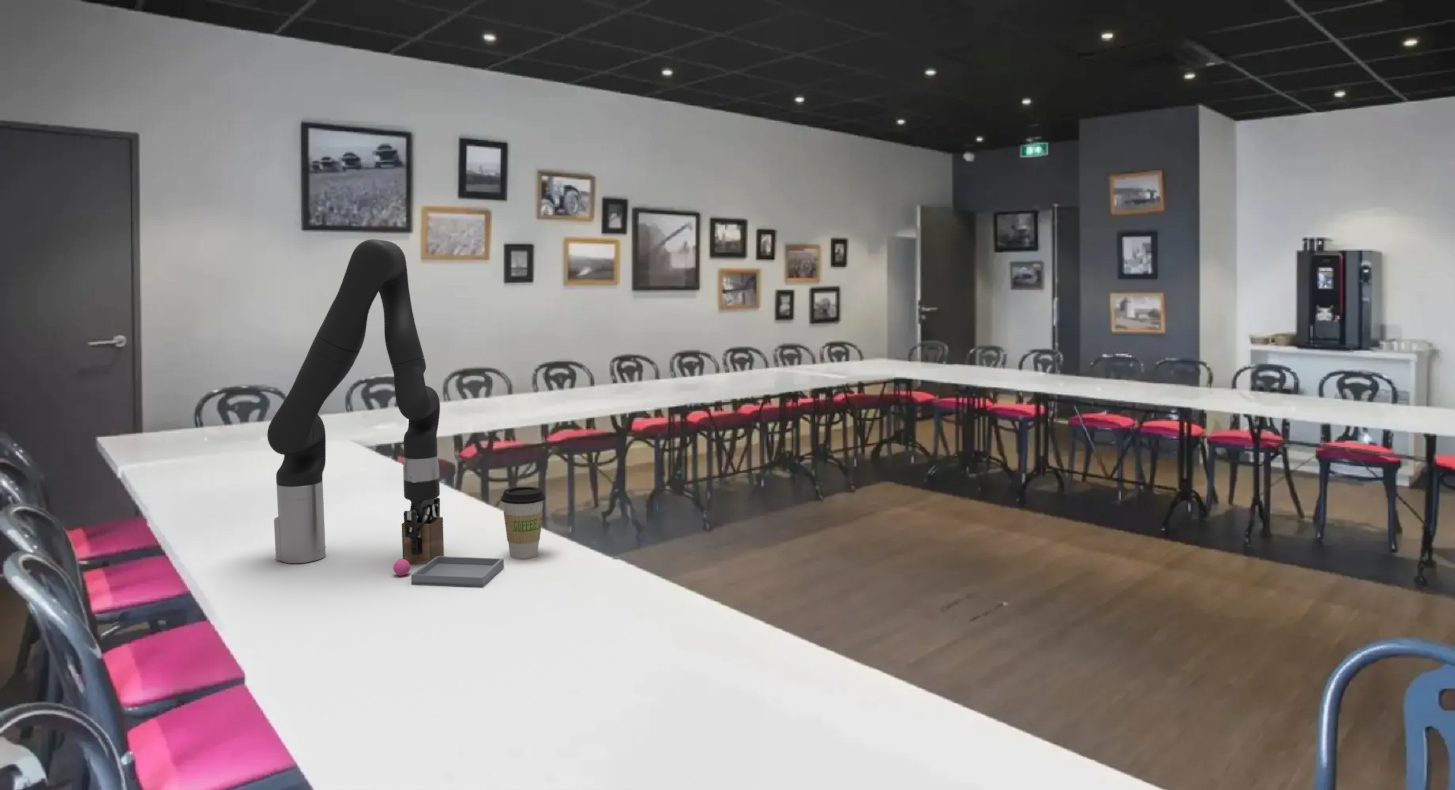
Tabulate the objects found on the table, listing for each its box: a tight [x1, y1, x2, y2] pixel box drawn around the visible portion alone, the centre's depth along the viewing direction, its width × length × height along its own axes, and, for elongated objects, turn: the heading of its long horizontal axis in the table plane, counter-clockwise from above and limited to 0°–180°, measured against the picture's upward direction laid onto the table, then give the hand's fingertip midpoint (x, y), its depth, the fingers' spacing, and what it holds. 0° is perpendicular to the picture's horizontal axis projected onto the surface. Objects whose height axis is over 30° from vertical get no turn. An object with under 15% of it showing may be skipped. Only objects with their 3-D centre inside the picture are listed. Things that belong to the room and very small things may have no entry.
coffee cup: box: [500, 486, 546, 560], centre depth 201 cm, size 10×10×15 cm
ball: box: [392, 558, 411, 576], centre depth 186 cm, size 3×3×3 cm
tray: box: [410, 555, 505, 588], centre depth 186 cm, size 15×13×2 cm
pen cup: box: [401, 516, 445, 565], centre depth 197 cm, size 7×7×9 cm
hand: (423, 549), depth 197 cm, fingers closed on pen cup, 6 cm apart
